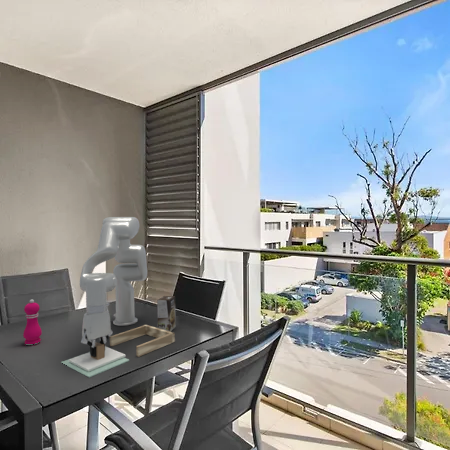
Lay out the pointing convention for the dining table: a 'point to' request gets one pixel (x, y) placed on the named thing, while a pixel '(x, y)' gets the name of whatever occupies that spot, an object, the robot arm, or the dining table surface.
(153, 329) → the open-sided wooden frame
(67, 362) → the sage mat
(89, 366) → the cover plate
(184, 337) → the dining table surface
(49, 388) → the dining table surface
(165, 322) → the coffee box
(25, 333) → the pepper mill
